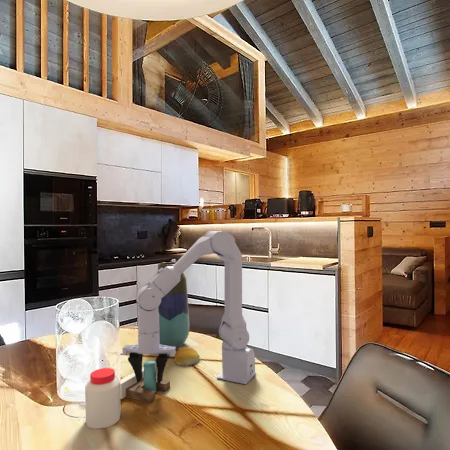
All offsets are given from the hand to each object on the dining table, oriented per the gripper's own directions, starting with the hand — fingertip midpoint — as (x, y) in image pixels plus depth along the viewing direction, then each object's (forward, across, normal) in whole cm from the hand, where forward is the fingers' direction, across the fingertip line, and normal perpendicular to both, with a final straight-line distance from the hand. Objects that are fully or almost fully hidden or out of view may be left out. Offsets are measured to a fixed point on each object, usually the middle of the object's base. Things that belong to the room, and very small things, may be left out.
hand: (149, 380), depth 94 cm
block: (+3, 0, 0) cm, 3 cm away
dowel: (+3, 0, 0) cm, 3 cm away
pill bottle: (+3, +6, +14) cm, 15 cm away
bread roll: (+4, -4, -23) cm, 24 cm away
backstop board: (+3, +5, -2) cm, 6 cm away
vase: (+3, +6, -38) cm, 38 cm away
